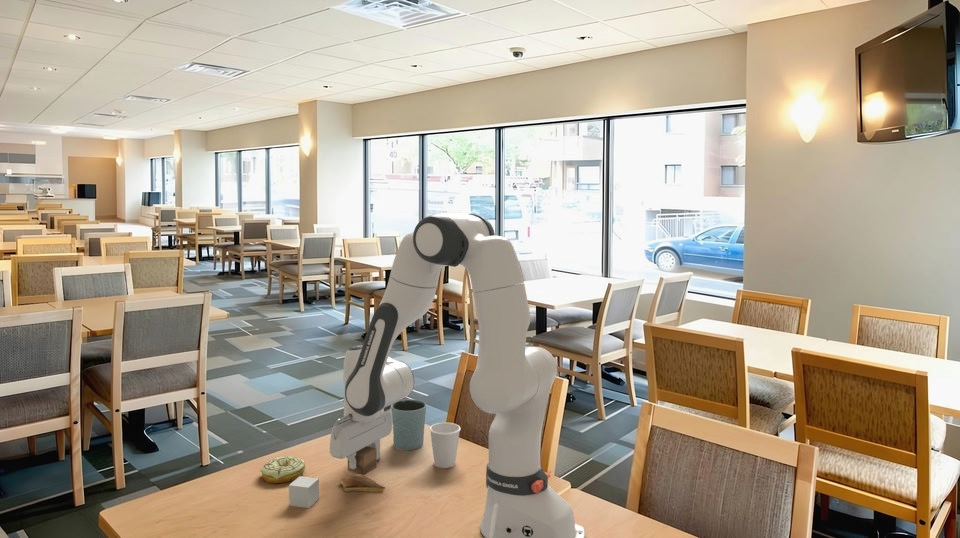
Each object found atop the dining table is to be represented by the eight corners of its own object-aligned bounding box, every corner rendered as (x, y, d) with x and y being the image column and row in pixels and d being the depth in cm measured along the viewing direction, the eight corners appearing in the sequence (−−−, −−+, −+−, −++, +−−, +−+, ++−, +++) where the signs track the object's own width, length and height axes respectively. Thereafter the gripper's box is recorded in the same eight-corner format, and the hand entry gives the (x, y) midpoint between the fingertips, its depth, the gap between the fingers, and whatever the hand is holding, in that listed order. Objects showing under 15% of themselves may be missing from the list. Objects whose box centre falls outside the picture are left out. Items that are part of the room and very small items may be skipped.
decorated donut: (252, 477, 163) (252, 463, 163) (288, 464, 172) (287, 450, 171) (277, 489, 157) (277, 474, 156) (313, 474, 165) (312, 460, 165)
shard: (385, 493, 156) (385, 486, 156) (358, 503, 151) (358, 495, 150) (361, 478, 164) (361, 471, 164) (334, 487, 159) (334, 480, 158)
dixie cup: (423, 461, 174) (423, 425, 172) (450, 455, 178) (450, 420, 177) (439, 472, 167) (439, 435, 166) (466, 465, 171) (466, 429, 170)
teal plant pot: (413, 435, 192) (413, 397, 191) (433, 445, 185) (433, 405, 183) (384, 443, 186) (384, 403, 185) (403, 454, 178) (403, 412, 177)
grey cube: (319, 498, 152) (318, 478, 151) (308, 508, 147) (308, 487, 146) (300, 496, 153) (299, 476, 152) (289, 505, 148) (288, 485, 148)
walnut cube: (376, 467, 160) (376, 448, 159) (363, 475, 156) (363, 455, 155) (360, 463, 162) (360, 444, 162) (347, 470, 158) (347, 451, 157)
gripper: (343, 424, 147) (344, 481, 148) (396, 400, 165) (396, 451, 166) (322, 419, 150) (323, 475, 151) (377, 396, 168) (377, 447, 169)
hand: (362, 463), depth 159 cm, fingers closed on walnut cube, 5 cm apart
